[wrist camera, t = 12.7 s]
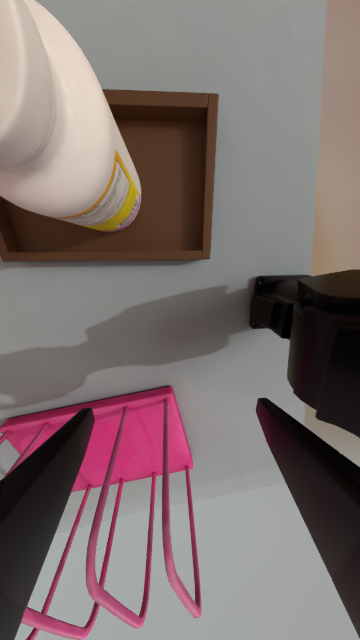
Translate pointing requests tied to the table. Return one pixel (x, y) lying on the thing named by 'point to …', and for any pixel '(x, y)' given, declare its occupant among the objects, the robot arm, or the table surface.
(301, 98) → the table surface
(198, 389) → the table surface
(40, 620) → the file sorter
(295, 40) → the table surface
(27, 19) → the supplement bottle
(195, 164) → the tray
